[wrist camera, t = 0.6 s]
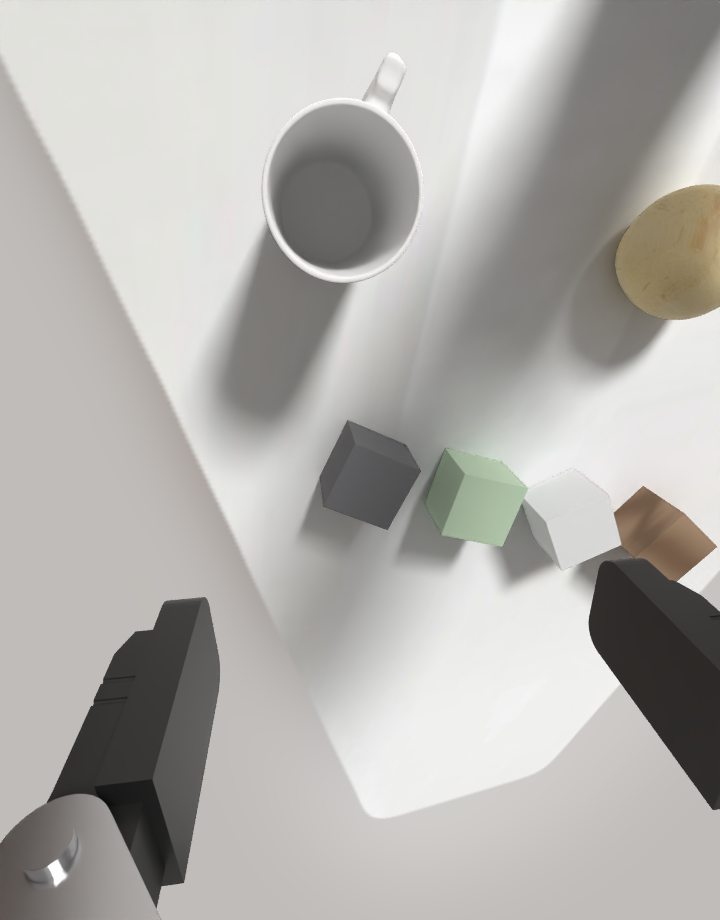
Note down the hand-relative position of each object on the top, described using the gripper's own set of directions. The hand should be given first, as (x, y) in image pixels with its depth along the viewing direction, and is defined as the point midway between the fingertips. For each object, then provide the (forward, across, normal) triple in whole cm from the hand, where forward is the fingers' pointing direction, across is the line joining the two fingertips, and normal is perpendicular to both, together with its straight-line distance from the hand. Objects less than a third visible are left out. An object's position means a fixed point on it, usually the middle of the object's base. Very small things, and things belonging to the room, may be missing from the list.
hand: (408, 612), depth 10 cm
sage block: (+27, -10, +11) cm, 31 cm away
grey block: (+27, -18, +14) cm, 36 cm away
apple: (+28, -23, -5) cm, 37 cm away
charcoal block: (+27, -2, +9) cm, 29 cm away
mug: (+28, -1, -10) cm, 29 cm away
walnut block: (+28, -26, +17) cm, 42 cm away
